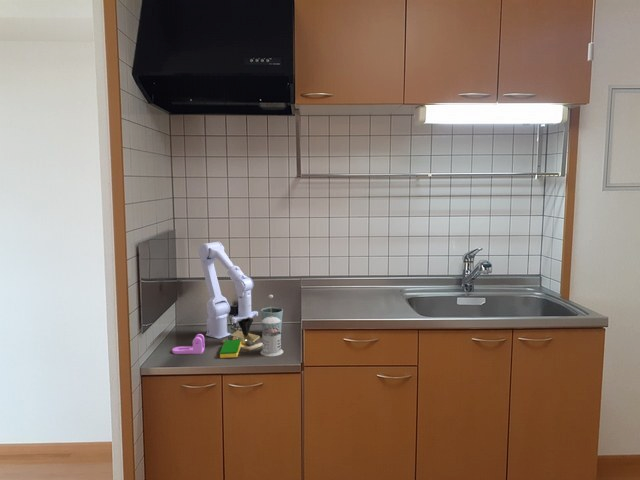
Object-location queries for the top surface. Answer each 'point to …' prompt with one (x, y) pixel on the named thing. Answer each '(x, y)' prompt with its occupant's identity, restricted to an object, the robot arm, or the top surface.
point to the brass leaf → (244, 336)
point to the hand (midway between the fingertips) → (245, 334)
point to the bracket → (192, 347)
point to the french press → (271, 337)
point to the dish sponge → (230, 348)
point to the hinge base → (246, 343)
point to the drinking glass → (272, 313)
